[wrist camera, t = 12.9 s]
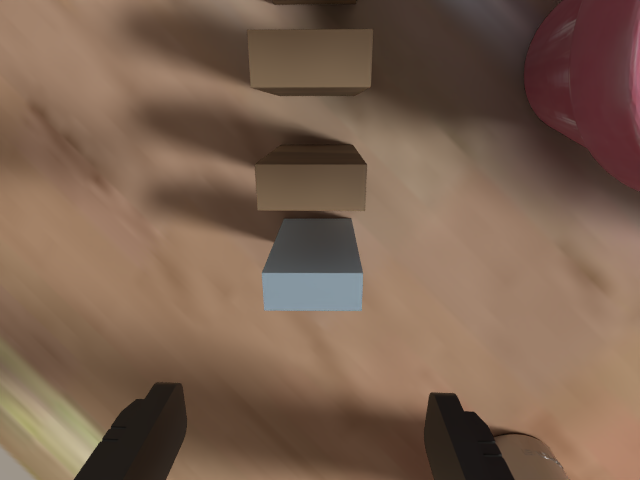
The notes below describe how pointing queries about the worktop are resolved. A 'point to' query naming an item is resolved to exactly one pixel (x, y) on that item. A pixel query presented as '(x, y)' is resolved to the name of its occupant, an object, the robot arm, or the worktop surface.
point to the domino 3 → (313, 267)
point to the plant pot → (591, 80)
